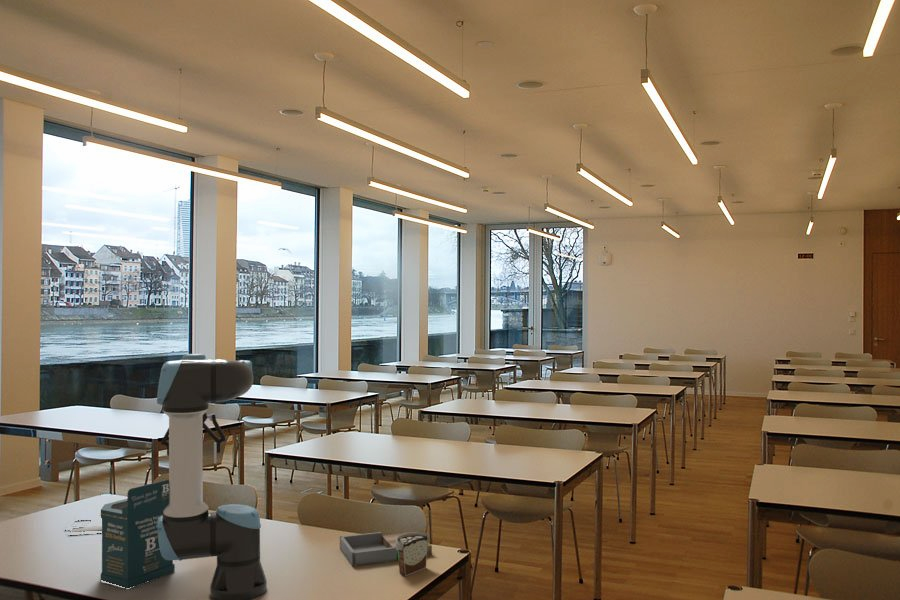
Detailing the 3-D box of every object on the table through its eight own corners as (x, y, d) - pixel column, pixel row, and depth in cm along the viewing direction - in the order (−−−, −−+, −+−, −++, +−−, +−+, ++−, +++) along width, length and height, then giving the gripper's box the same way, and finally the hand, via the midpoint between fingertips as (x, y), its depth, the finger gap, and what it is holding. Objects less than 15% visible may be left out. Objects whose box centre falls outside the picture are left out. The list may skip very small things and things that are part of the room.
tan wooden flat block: (431, 555, 233) (431, 545, 233) (395, 559, 228) (395, 550, 228) (416, 540, 247) (416, 531, 248) (381, 544, 243) (381, 535, 243)
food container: (414, 562, 226) (414, 529, 226) (429, 566, 222) (429, 533, 222) (386, 573, 216) (386, 539, 217) (401, 578, 213) (401, 543, 213)
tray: (396, 560, 227) (396, 547, 227) (352, 566, 222) (352, 553, 222) (381, 543, 244) (381, 531, 244) (339, 548, 239) (339, 536, 239)
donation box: (127, 590, 204) (127, 489, 205) (91, 580, 212) (91, 483, 213) (174, 572, 219) (174, 478, 219) (138, 563, 226) (139, 472, 227)
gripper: (232, 397, 251) (232, 459, 251) (154, 400, 244) (154, 464, 243) (233, 399, 244) (233, 463, 244) (152, 403, 236) (152, 469, 236)
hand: (193, 464), depth 243 cm, fingers open, 13 cm apart
